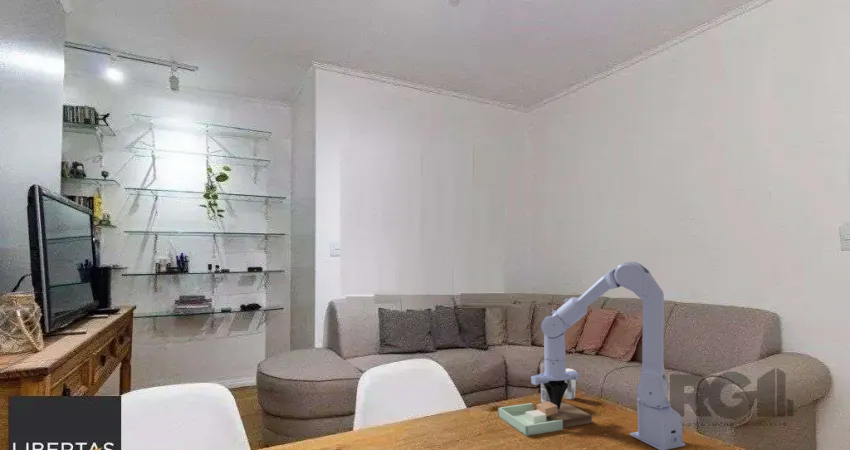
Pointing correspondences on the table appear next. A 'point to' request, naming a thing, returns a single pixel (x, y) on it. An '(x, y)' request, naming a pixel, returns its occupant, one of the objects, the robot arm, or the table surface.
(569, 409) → the board
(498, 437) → the table surface
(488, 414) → the table surface
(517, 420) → the tray
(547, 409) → the tile
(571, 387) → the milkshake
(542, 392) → the energy drink
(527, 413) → the tile
